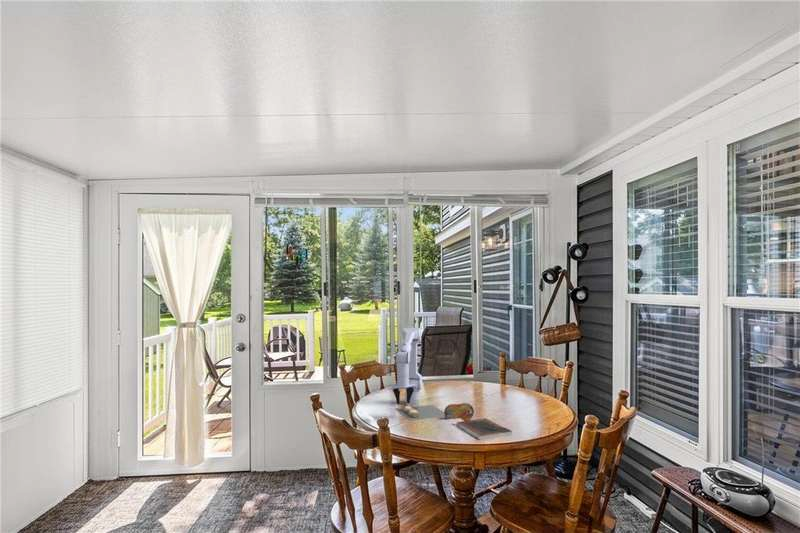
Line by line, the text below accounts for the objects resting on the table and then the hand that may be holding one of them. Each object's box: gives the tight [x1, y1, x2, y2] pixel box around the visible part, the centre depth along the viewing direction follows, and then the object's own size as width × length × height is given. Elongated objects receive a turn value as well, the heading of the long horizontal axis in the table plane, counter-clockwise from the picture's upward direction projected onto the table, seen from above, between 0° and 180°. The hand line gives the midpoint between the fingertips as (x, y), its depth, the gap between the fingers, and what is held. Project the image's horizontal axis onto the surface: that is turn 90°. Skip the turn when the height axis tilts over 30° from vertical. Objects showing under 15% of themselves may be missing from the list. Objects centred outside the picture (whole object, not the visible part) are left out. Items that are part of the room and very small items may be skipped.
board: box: [394, 404, 446, 421], centre depth 230 cm, size 22×22×2 cm
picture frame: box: [456, 417, 513, 440], centre depth 206 cm, size 16×2×22 cm
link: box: [401, 402, 419, 417], centre depth 229 cm, size 17×4×3 cm, turn 19°
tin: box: [443, 402, 475, 421], centre depth 221 cm, size 15×3×8 cm, turn 105°
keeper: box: [413, 400, 420, 409], centre depth 235 cm, size 10×2×4 cm, turn 175°
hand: (403, 403), depth 221 cm, fingers open, 5 cm apart
